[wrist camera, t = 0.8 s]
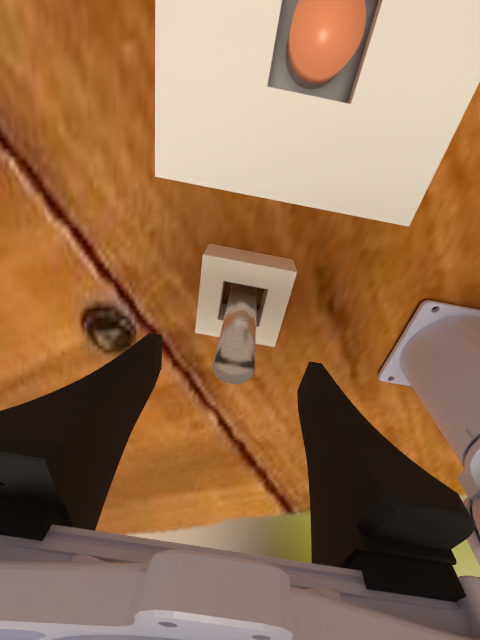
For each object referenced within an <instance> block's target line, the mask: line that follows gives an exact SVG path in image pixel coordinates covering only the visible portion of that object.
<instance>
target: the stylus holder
mask: <svg viewBox="0 0 480 640" xmlns="http://www.w3.org/2000/svg"><path fill="white" fill-rule="evenodd" d="M296 274H297V270H296V267H295V264H294V260H293V259H289V258H284V257H278V256H273V255H268V254H263V253H257V252H252V251H247V250H242V249H236V248H231V247H226V246H221V245H215V244H210V243H209V245H208V247H207V248H206V250H205V252H204V253H203V258H202V268H201V278H200V288H199V298H198V308H197V318H196V328H195V333H199V334H205V335H210V336H216V337H220V333H221V329H222V324H223V320H224V316H225V311H226V307H227V304H225V303H222V300H223V293H224V287H225V281H226V282H232V283H237V284H243V285H248V286H253V287H259V288H264V292H263V296H262V300H261V305H260V309H259V310H257V309H256V341H255V344H260V345H266V346H272V347H275V344H276V341H277V337H278V334H279V331H280V328H281V324H282V321H283V318H284V314H285V311H286V308H287V304H288V301H289V298H290V294H291V291H292V288H293V284H294V281H295V278H296Z"/></svg>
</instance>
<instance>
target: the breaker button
mask: <svg viewBox="0 0 480 640" xmlns="http://www.w3.org/2000/svg"><path fill="white" fill-rule="evenodd" d="M378 2H379V0H282V5H281V11H280V17H279V22H278V28H277V34H276V40H275V46H274V51H273V57H272V63H271V69H270V75H269V80H268V87H272V88H277V89H282V90H287V91H291V92H296V93H301V94H306V95H310V96H315V97H320V98H325V99H329V100H334V101H339V102H344V103H348V101H349V98H350V95H351V92H352V88H353V85H354V82H355V78H356V75H357V72H358V68H359V65H360V62H361V58H362V55H363V52H364V48H365V45H366V42H367V38H368V35H369V32H370V28H371V25H372V22H373V18H374V15H375V12H376V9H377V5H378Z"/></svg>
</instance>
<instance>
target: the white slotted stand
mask: <svg viewBox="0 0 480 640" xmlns="http://www.w3.org/2000/svg"><path fill="white" fill-rule="evenodd" d="M281 5H282V0H156V15H155V177H160V178H165V179H170V180H175V181H180V182H185V183H190V184H195V185H201V186H206V187H211V188H216V189H221V190H226V191H231V192H236V193H241V194H246V195H251V196H256V197H261V198H267V199H272V200H277V201H282V202H287V203H292V204H297V205H302V206H307V207H312V208H317V209H322V210H328V211H333V212H338V213H343V214H348V215H353V216H358V217H363V218H368V219H373V220H378V221H383V222H388V223H394V224H399V225H404V226H409V225H410V223H411V221H412V219H413V217H414V215H415V213H416V211H417V209H418V207H419V205H420V203H421V201H422V199H423V197H424V195H425V193H426V191H427V188H428V186H429V184H430V182H431V180H432V178H433V176H434V174H435V172H436V170H437V168H438V166H439V164H440V162H441V160H442V158H443V156H444V154H445V152H446V150H447V148H448V145H449V143H450V141H451V139H452V137H453V135H454V133H455V131H456V129H457V127H458V125H459V123H460V121H461V119H462V117H463V115H464V113H465V111H466V109H467V107H468V105H469V102H470V100H471V98H472V96H473V94H474V92H475V90H476V88H477V86H478V84H479V82H480V0H379V2H378V5H377V9H376V12H375V15H374V18H373V22H372V25H371V28H370V32H369V35H368V38H367V42H366V45H365V48H364V52H363V55H362V58H361V62H360V65H359V68H358V72H357V75H356V78H355V82H354V85H353V88H352V92H351V95H350V98H349V101H348V103H344V102H339V101H334V100H329V99H325V98H320V97H315V96H310V95H306V94H301V93H296V92H291V91H287V90H282V89H277V88H272V87H268V80H269V75H270V69H271V63H272V57H273V51H274V46H275V40H276V34H277V28H278V22H279V17H280V11H281Z"/></svg>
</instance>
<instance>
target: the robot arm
mask: <svg viewBox="0 0 480 640" xmlns="http://www.w3.org/2000/svg"><path fill="white" fill-rule="evenodd" d="M435 306H436V308H435V309H434V310H432V308H433V307H435ZM161 361H162V335H156V334H150V333H149V334H148V335H146V336H145V337H143V338H142V339H141V340H140V341H138V342H137V343H136V344H134V345H133V346H132V347H130V348H129V349H128V350H126V351H125V352H123V353H122V354H121V355H119V356H118V357H116V358H115V359H113V360H112V361H110V362H109V363H107V364H106V365H104V366H103V367H101V368H99V369H98V370H96V371H94V372H93V373H91V374H89V375H87V376H86V377H84V378H82V379H80V380H78V381H76V382H74V383H72V384H70V385H67V386H65V387H63V388H61V389H59V390H56V391H54V392H52V393H50V394H47V395H45V396H42V397H40V398H37V399H34V400H32V401H29V402H26V403H23V404H21V405H18V406H15V407H12V408H8V409H5V410H2V411H0V640H480V577H475V576H460V577H457V575H456V573H455V570H454V568H453V566H452V565H455V564H456V559H455V557H454V555H453V553H452V551H451V549H452V548H454V547H455V546H457V545H458V544H459V543H461V542H463V541H464V540H466V539H467V540H468V543H469V545H470V547H471V549H472V551H473V553H474V555H475V557H476V559H477V560H478V562H479V564H480V309H474V308H469V307H464V306H458V305H453V304H448V303H443V302H437V301H432V300H426V301H424V302H422V303H421V304H420V306H419V307H418V309H417V311H416V312H415V314H414V316H413V317H412V319H411V321H410V322H409V324H408V326H407V327H406V329H405V331H404V332H403V334H402V336H401V337H400V339H399V341H398V342H397V344H396V346H395V347H394V349H393V351H392V352H391V354H390V356H389V357H388V359H387V361H386V362H385V364H384V366H383V367H382V369H381V371H380V372H379V374H378V377H379V379H380V380H381V381H383V382H389V383H395V384H400V385H406V386H411V387H412V388H413V390H414V391H415V393H416V394H417V396H418V397H419V399H420V401H421V402H422V404H423V405H424V407H425V408H426V410H427V411H428V413H429V414H430V416H431V417H432V419H433V421H434V422H435V424H436V425H437V427H438V428H439V430H440V431H441V433H442V434H443V436H444V437H445V439H446V441H447V442H448V444H449V445H450V447H451V448H452V450H453V451H454V453H455V454H456V456H457V457H458V459H459V461H460V462H461V464H462V465H463V467H464V470H463V472H462V473H461V474H460V475H459V476H458V477H457V479H458V480H459V482H460V484H461V485H462V487H463V488H464V490H465V492H466V493H467V495H468V498H466V499H465V500H464V502H462V500H461V498H460V497H459V495H458V493H456V492H455V491H453V490H452V489H450V488H449V487H447V486H446V485H445V484H443V483H442V482H440V481H439V480H437V479H436V478H434V477H433V476H432V475H430V474H429V473H427V472H426V471H425V470H423V469H422V468H421V467H420V466H418V465H417V464H416V463H414V462H413V461H412V460H410V459H409V458H408V457H407V456H406V455H404V454H403V453H402V452H401V451H399V450H398V449H397V448H396V447H395V446H394V445H393V444H391V443H390V442H389V441H388V440H387V439H386V438H385V437H384V436H383V435H382V434H380V433H379V432H378V431H377V430H376V429H375V428H374V427H373V426H372V425H371V424H370V423H369V422H368V421H367V419H366V418H365V417H364V416H363V415H362V414H361V413H360V412H359V411H358V409H357V408H356V407H355V406H354V405H353V404H352V403H351V401H350V400H349V399H348V398H347V396H346V395H345V394H344V393H343V391H342V390H341V389H340V387H339V386H338V385H337V384H336V382H335V381H334V380H333V378H332V377H331V375H330V374H329V373H328V371H327V370H326V369H325V367H324V366H323V365H322V364H321V363H315V362H309V363H308V366H307V368H306V371H305V373H304V376H303V378H302V381H301V383H300V386H299V388H298V391H297V393H298V412H299V418H300V423H301V429H302V435H303V440H304V446H305V451H306V457H307V465H308V478H309V492H310V510H311V540H312V542H311V543H312V563H306V562H299V561H293V560H286V559H279V558H272V557H266V556H259V555H252V554H246V553H239V552H232V551H225V550H220V549H213V548H206V547H200V546H193V545H185V544H180V543H173V542H166V541H160V540H153V539H146V538H139V537H133V536H126V535H120V534H113V533H106V532H100V531H95V529H96V526H97V523H98V520H99V517H100V514H101V511H102V508H103V505H104V502H105V500H106V497H107V494H108V491H109V488H110V486H111V483H112V480H113V477H114V475H115V472H116V469H117V467H118V464H119V461H120V459H121V456H122V454H123V451H124V449H125V446H126V444H127V441H128V439H129V436H130V434H131V432H132V429H133V427H134V425H135V423H136V421H137V419H138V418H139V416H140V414H141V412H142V410H143V408H144V406H145V404H146V402H147V400H148V398H149V396H150V394H151V392H152V390H153V388H154V386H155V384H156V381H157V378H158V376H159V373H160V370H161ZM391 376H392V377H391ZM389 377H390V378H389Z"/></svg>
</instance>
